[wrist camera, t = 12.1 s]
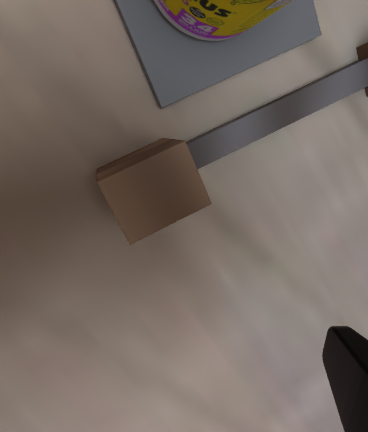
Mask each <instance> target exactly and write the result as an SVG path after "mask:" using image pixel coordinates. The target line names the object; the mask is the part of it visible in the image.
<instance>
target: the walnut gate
mask: <svg viewBox="0 0 368 432" xmlns="http://www.w3.org/2000/svg"><path fill="white" fill-rule="evenodd" d="M357 53H358V58H359V61H357V62H354V63H352V64H350V65H348V66H346V67H344V68H342V69H340V70H338V71H335V72H333V73H331V74H329V75H327V76H325V77H323V78H321V79H319V80H316V81H314V82H312V83H310V84H308V85H306V86H304V87H302V88H300V89H297V90H295V91H293V92H291V93H289V94H287V95H285V96H283V97H281V98H278V99H276V100H274V101H272V102H270V103H268V104H266V105H264V106H262V107H259V108H257V109H255V110H253V111H251V112H249V113H247V114H245V115H243V116H240V117H238V118H236V119H234V120H232V121H230V122H228V123H226V124H224V125H221V126H219V127H217V128H215V129H213V130H211V131H209V132H207V133H205V134H202V135H200V136H198V137H196V138H194V139H192V140H190V141H188V142H185V141H183V140H175V139H166V138H162V139H160V140H158V141H156V142H154V143H152V144H149V145H147V146H145V147H143V148H141V149H139V150H137V151H135V152H132V153H130V154H128V155H126V156H124V157H122V158H120V159H117V160H115V161H113V162H111V163H109V164H107V165H105V166H102V167H100V168H98V169H97V184H98V186H99V188H100V189H101V191H102V193H103V195H104V197H105V199H106V201H107V203H108V204H109V206H110V208H111V210H112V212H113V214H114V216H115V218H116V219H117V221H118V223H119V225H120V227H121V229H122V231H123V233H124V234H125V236H126V238H127V240H128V242H129V244H130V245H131V244H133V243H135V242H136V241H138V240H140V239H142V238H144V237H146V236H148V235H150V234H152V233H154V232H156V231H158V230H160V229H162V228H164V227H166V226H168V225H170V224H172V223H174V222H176V221H178V220H180V219H182V218H184V217H186V216H188V215H190V214H192V213H194V212H196V211H198V210H200V209H202V208H204V207H206V206H208V205H210V204H211V202H210V199H209V197H208V194H207V192H206V190H205V187H204V185H203V182H202V180H201V178H200V175H199V173H198V170H197V169H198V168H201V167H203V166H205V165H207V164H209V163H211V162H213V161H215V160H217V159H219V158H221V157H223V156H225V155H227V154H229V153H231V152H233V151H235V150H238V149H240V148H242V147H244V146H246V145H248V144H250V143H252V142H254V141H256V140H258V139H260V138H262V137H264V136H266V135H268V134H270V133H272V132H275V131H277V130H279V129H281V128H283V127H285V126H287V125H289V124H291V123H293V122H295V121H297V120H299V119H301V118H303V117H305V116H307V115H310V114H312V113H314V112H316V111H318V110H320V109H322V108H324V107H326V106H328V105H330V104H332V103H334V102H336V101H338V100H340V99H342V98H344V97H347V96H349V95H351V94H353V93H355V92H357V91H359V90H361V89H363V88H365V90H366V94H367V96H368V42H367V43H365V44H363V45H361V46H359V47H357Z"/></svg>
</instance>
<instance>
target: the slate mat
mask: <svg viewBox="0 0 368 432" xmlns="http://www.w3.org/2000/svg"><path fill="white" fill-rule="evenodd" d="M114 2H115V5H116V7H117V9H118V12H119V14H120V16H121V19H122V21H123V23H124V26H125V28H126V30H127V33H128V35H129V37H130V40H131V42H132V44H133V47H134V49H135V51H136V54H137V56H138V58H139V61H140V63H141V65H142V67H143V70H144V72H145V74H146V77H147V79H148V81H149V84H150V86H151V88H152V91H153V93H154V95H155V98H156V100H157V102H158V105H159V107H160V108H162V107H165V106H167V105H169V104H171V103H173V102H176V101H178V100H180V99H182V98H184V97H187V96H189V95H191V94H193V93H195V92H198V91H200V90H202V89H204V88H206V87H209V86H211V85H213V84H215V83H217V82H219V81H222V80H224V79H226V78H228V77H230V76H233V75H235V74H237V73H239V72H241V71H244V70H246V69H248V68H250V67H252V66H255V65H257V64H259V63H261V62H263V61H266V60H268V59H270V58H272V57H274V56H276V55H279V54H281V53H283V52H285V51H287V50H290V49H292V48H294V47H296V46H298V45H301V44H303V43H305V42H307V41H309V40H312V39H314V38H316V37H318V36H320V35H321V31H320V26H319V22H318V18H317V14H316V10H315V6H314V2H313V0H293V1H292V2H290V3H288V4H287V5H285V6H284V7H282V8H281V9H279V10H278V11H276V12H275V13H273V14H272V15H270V16H268V17H267V18H266V19H264V20H262V21H261V22H259V23H258V24H256V25H254V26H253V27H251V28H250V29H248V30H247V31H245V32H243V33H241V34H239V35H237V36H235V37H232V38H229V39H226V40H220V41H207V40H201V39H197V38H194V37H192V36H189V35H187V34H185V33H184V32H182V31H180V30H179V29H178V28H176V27H175V26H174V25H173V24H172V23H170V22H169V21H168V19H167V18H166V17H165V16H164V15H163V14H162V12H161V11H160V9H159V8H158V6H157V5H156V3H155V1H154V0H114Z"/></svg>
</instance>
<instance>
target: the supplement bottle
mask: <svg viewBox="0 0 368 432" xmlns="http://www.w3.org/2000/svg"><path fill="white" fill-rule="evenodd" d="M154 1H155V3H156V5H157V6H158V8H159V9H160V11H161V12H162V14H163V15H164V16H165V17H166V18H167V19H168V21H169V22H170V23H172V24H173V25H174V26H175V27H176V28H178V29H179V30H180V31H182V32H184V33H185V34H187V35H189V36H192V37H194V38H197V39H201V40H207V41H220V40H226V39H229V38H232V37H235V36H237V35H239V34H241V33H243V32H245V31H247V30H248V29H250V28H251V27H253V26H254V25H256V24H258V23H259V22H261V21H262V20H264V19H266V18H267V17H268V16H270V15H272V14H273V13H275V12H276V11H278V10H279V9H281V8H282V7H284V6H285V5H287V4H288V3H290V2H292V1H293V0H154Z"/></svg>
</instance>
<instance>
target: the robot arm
mask: <svg viewBox="0 0 368 432" xmlns="http://www.w3.org/2000/svg"><path fill="white" fill-rule="evenodd" d="M322 357H323V363H324V367H325V370H326V373H327V377H328V380H329V383H330V386H331V390H332V393H333V396H334V399H335V403H336V406H337V409H338V412H339V416H340V419H341V422H342V425H343V428H344V431H345V432H368V340H367V339H366V338H364V337H363V336H362V335H360V334H359V333H357V332H356V331H355V330H353V329H352V328H350V327H348V326H332V327H330V328H329V329H328V331H327V336H326V340H325V344H324V348H323V354H322Z"/></svg>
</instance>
